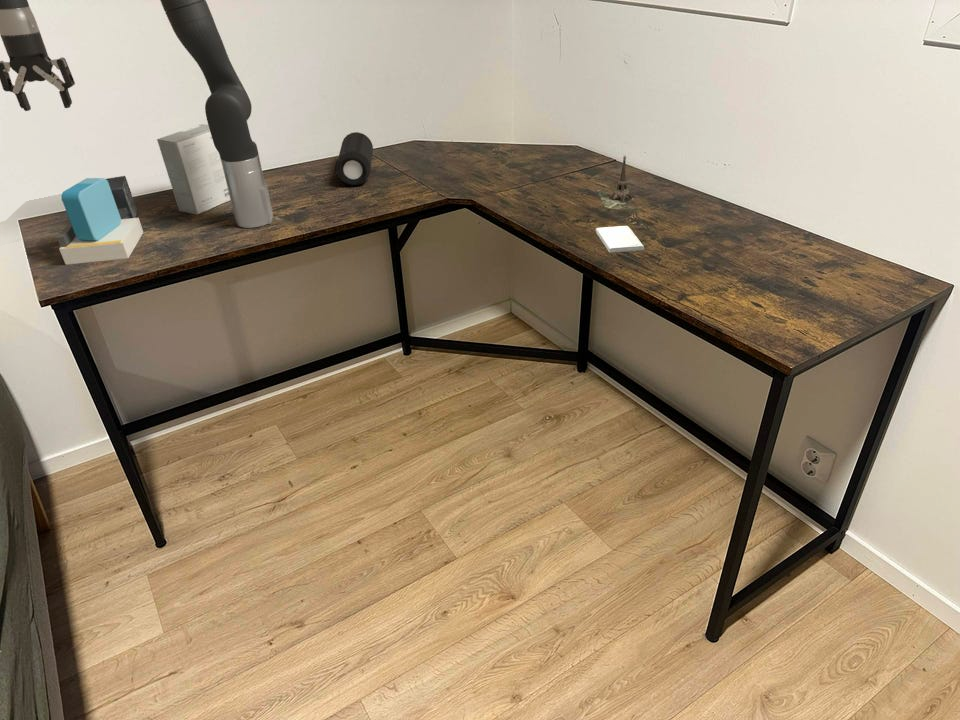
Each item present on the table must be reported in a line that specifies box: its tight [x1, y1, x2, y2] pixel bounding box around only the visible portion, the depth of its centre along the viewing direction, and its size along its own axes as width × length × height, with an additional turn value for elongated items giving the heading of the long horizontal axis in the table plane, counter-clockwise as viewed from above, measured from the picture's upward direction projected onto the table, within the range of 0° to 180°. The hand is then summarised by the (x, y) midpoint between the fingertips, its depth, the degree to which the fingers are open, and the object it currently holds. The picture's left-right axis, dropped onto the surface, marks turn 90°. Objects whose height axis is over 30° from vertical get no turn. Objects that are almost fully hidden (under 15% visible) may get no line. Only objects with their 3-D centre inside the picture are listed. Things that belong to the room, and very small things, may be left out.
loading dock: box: [56, 217, 144, 265], centre depth 164 cm, size 14×16×6 cm
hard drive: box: [595, 225, 645, 254], centre depth 160 cm, size 2×8×12 cm
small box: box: [105, 175, 139, 219], centre depth 177 cm, size 11×6×10 cm, turn 21°
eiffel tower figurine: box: [596, 155, 643, 211], centre depth 179 cm, size 15×10×13 cm
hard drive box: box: [156, 123, 231, 216], centre depth 183 cm, size 16×8×20 cm, turn 150°
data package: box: [60, 177, 121, 241], centre depth 160 cm, size 12×4×12 cm, turn 175°
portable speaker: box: [335, 131, 374, 186], centre depth 204 cm, size 26×10×10 cm, turn 5°
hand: (47, 108), depth 154 cm, fingers open, 8 cm apart
